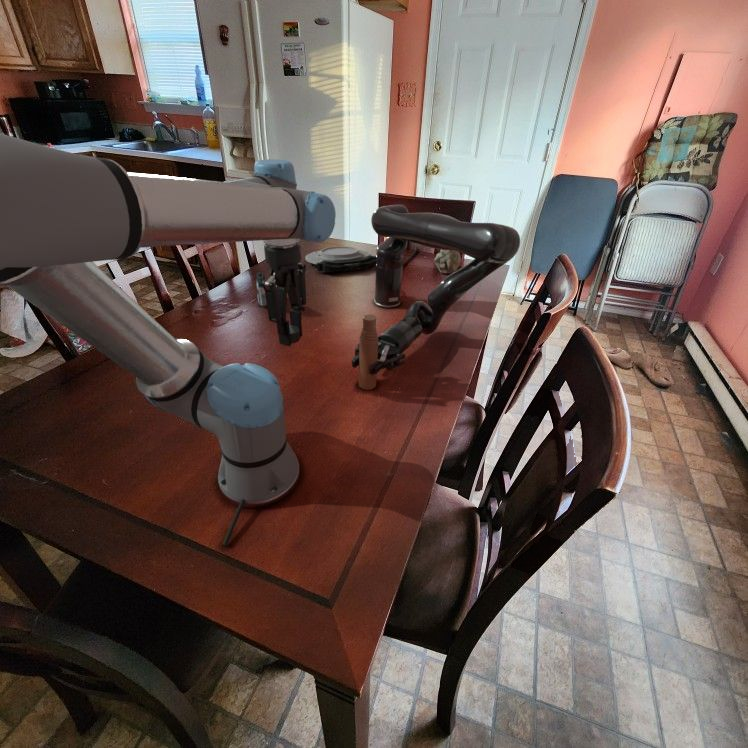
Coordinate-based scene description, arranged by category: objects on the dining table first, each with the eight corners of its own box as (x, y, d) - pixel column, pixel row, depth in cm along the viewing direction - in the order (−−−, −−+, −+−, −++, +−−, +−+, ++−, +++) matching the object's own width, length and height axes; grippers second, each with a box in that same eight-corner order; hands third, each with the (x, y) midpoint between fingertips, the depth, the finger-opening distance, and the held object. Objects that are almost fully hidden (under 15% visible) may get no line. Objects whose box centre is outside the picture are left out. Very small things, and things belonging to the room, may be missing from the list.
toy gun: (257, 301, 130) (253, 270, 130) (259, 310, 149) (255, 282, 148) (269, 301, 131) (265, 269, 131) (269, 309, 150) (266, 281, 149)
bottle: (377, 380, 109) (380, 314, 98) (374, 390, 105) (377, 322, 94) (360, 378, 110) (361, 311, 98) (356, 388, 106) (358, 320, 95)
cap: (296, 333, 102) (295, 323, 100) (302, 341, 99) (302, 331, 97) (279, 337, 100) (278, 327, 99) (285, 345, 97) (284, 335, 95)
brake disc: (383, 271, 172) (384, 260, 169) (312, 276, 164) (311, 265, 161) (363, 248, 197) (363, 238, 194) (300, 252, 189) (300, 241, 187)
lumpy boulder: (466, 272, 181) (459, 270, 167) (441, 276, 185) (433, 276, 172) (463, 245, 179) (455, 242, 166) (438, 251, 184) (429, 248, 170)
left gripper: (271, 258, 78) (283, 361, 92) (318, 235, 91) (322, 327, 105) (240, 252, 81) (255, 352, 94) (290, 229, 94) (297, 321, 107)
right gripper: (375, 320, 115) (338, 346, 102) (420, 335, 109) (387, 364, 96) (373, 343, 119) (338, 370, 107) (418, 359, 113) (386, 390, 101)
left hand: (291, 339), depth 99 cm, fingers closed on cap, 4 cm apart
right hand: (362, 367), depth 102 cm, fingers closed on bottle, 4 cm apart
